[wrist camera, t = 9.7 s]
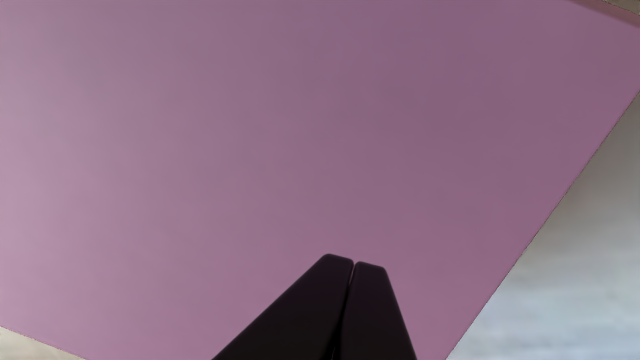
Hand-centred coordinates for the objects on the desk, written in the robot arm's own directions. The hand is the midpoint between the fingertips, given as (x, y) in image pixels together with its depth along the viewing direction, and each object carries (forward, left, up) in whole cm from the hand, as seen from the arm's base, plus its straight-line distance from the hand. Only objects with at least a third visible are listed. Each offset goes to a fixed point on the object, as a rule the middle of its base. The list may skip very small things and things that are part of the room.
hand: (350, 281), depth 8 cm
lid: (+4, +4, -5) cm, 7 cm away
